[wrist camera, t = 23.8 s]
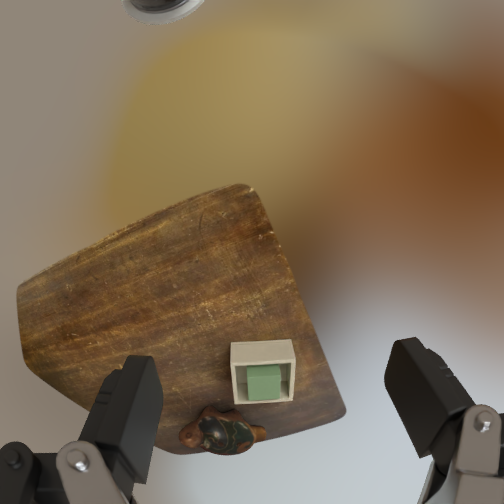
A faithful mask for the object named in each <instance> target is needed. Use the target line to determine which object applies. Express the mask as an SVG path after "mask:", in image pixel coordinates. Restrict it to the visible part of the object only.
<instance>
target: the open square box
mask: <svg viewBox="0 0 504 504" xmlns="http://www.w3.org/2000/svg"><path fill="white" fill-rule="evenodd" d="M264 364H279V369H280V375H281V378H280V399H269V400H252V401H249V400H248V386H247V368H246V365H264ZM295 364H296V358H295V354H294V350H293V345H292V341H291V339H285V340H270V341H251V342H231V354H230V365H231V375H232V385H233V394H234V402H235V404H252V403H269V402H283V401H293V390H294V378H295Z"/></svg>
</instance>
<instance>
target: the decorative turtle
mask: <svg viewBox="0 0 504 504" xmlns="http://www.w3.org/2000/svg"><path fill="white" fill-rule="evenodd" d="M265 438H266V431H265V428H264V427H262V426H255V425H249V424H248V423H247V422H246V421H245V420H244V419H243V418H242V417H241V414H240V413H239V411H237V410H235V409H233V410H231V411H229V412H226V413H221V412H219V411H218V410H217V409H216V408H215V407H214V406H207V407H206V408H205V409H204V411H203V413H202V414H201V416H200V417H199V418H198V419H197V420H196V421H193V422H191V423H190V424H188V425H187V426H185V427H184V428H183V429H182V430H181V431H180V433H179V440H180V442H181V443H182V444H183V445H185V446H187V447H189V448H197V447H199V446H200V447H202V448H203V449H205V450H206V451H208V452H211V453H214V454H218V455H235V454H240V453H243V452H245V451H247V450H248V449H250V448H251V446H252V445H253V444H254V443H256V442H260V441H263V440H265Z"/></svg>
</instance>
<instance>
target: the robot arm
mask: <svg viewBox="0 0 504 504" xmlns="http://www.w3.org/2000/svg"><path fill="white" fill-rule="evenodd" d="M188 1H189V0H130V2H131V3H132V5H133V6H134V7H135V8H136V9H138V10H140V11H142V12H145V13H151V14H158V13H165V12H169V11H172V10H174V9H177V8H179V7H180V6H182V5H184V4H185V3H186V2H188ZM384 382H385V387H386V390H387V392H388V394H389V396H390V398H391V400H392V402H393V404H394V405H395V408H396V410H397V412H398V414H399V416H400V418H401V420H402V422H403V424H404V426H405V428H406V430H407V433H408V435H409V437H410V439H411V441H412V443H413V445H414V447H415V450H416V452H417V454H418V456H419V458H423V457H425V456H428V455H431V454H432V457H433V461H432V462H431V465H430V468H429V472H428V474H427V477H426V481H425V484H424V487H423V489H422V492H421V495H420V498H419V501H418V503H417V504H504V413H501V414H498V413H497V412H496V410H494V409H493V408H491V407H490V406H487V405H482V404H481V405H476V404H475V403H474V401H473V400H472V398H471V397H470V396H469V394H468V393H467V391H466V390H465V389H464V387H463V386H462V385H461V383H460V382H459V380H458V379H457V378H456V377H455V376H454V375H453V372H452V371H451V370H450V368H448V366H447V364H446V363H445V362H444V360H443V359H442V358H441V356H439V355H438V354H436V353H435V352H433V351H432V350H430V349H426V348H425V347H424V346H423V344H422V343H421V342H420V341H419V339H418V338H416V337H412V338H407V339H402V340H397V341H395V342H394V344H393V347H392V351H391V354H390V357H389V361H388V364H387V367H386V371H385V375H384ZM162 406H163V390H162V386H161V383H160V380H159V376H158V373H157V370H156V366H155V363H154V360H153V358H152V357H151V356H138V355H129V356H128V357H127V359H126V361H125V364H124V366H123V368H122V370H118V369H115V370H114V371H113V372H112V373H111V374H110V375H108V376H107V377H106V378H105V380H104V382H103V384H102V386H101V388H100V390H99V393H98V395H97V397H96V399H95V403H94V404H93V406H92V408H91V411H90V413H89V415H88V418H87V420H86V423H85V425H84V427H83V430H82V432H81V435H80V437H79V439H78V440H77V441H73V442H70V443H68V444H66V445H65V446H63V447H62V448H61V449H60V451H59V452H58V453H33V452H32V451H31V450H30V449H29V448H28V447H27V446H26V445H25V444H24V443H21V442H10V443H8V444H6V445H4V446H3V447H2V448H1V449H0V504H139V502H138V501H137V499H136V498H135V496H134V494H133V493H132V491H133V486H134V482H135V483H141V484H146V480H147V475H148V470H149V466H150V461H151V456H152V451H153V446H154V442H155V437H156V433H157V428H158V424H159V419H160V415H161V411H162Z"/></svg>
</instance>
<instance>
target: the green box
mask: <svg viewBox="0 0 504 504" xmlns="http://www.w3.org/2000/svg"><path fill="white" fill-rule="evenodd" d="M246 368H247V386H248V400H249V401H252V400H269V399H280V378H281V375H280V369H279V364H264V365H246Z"/></svg>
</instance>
